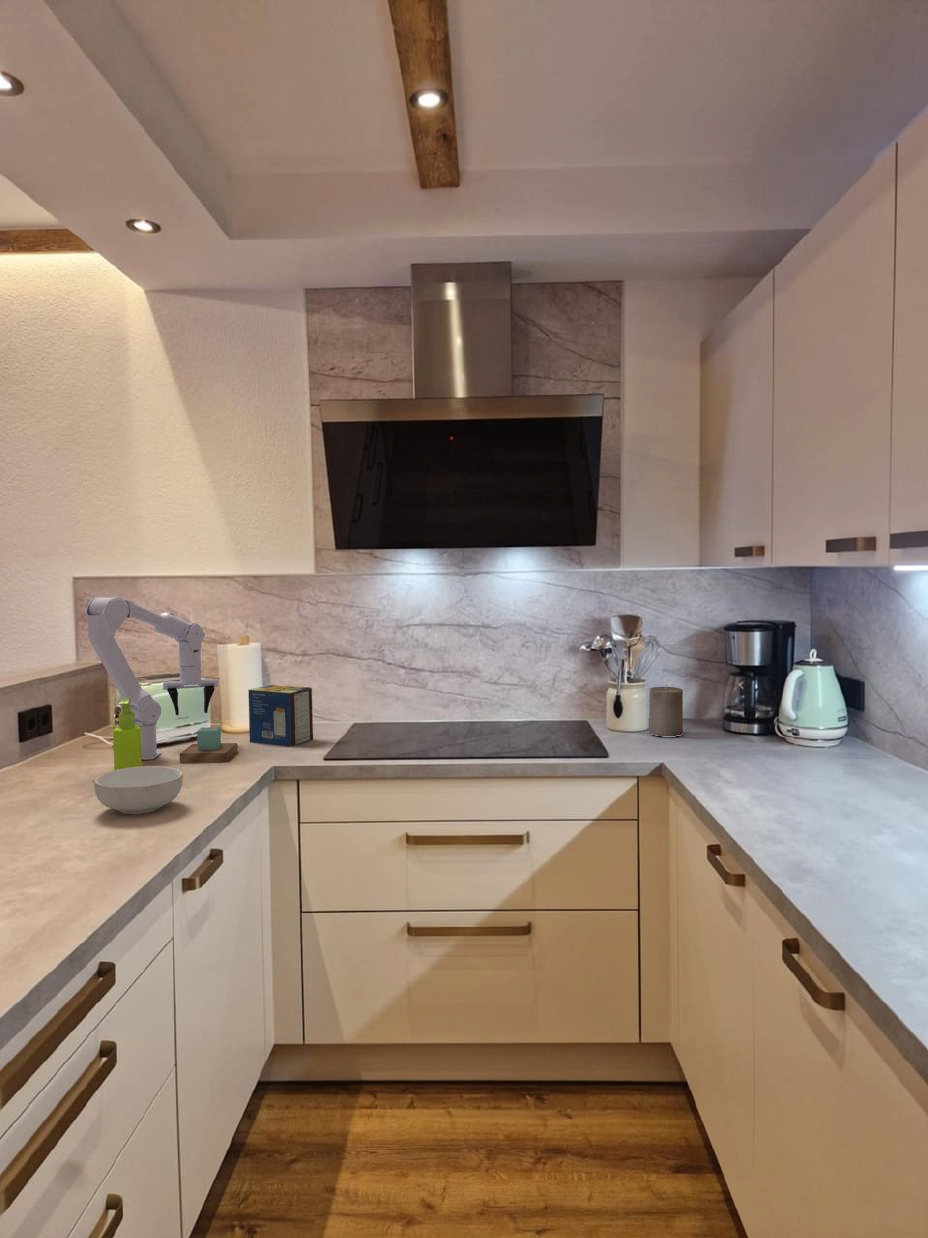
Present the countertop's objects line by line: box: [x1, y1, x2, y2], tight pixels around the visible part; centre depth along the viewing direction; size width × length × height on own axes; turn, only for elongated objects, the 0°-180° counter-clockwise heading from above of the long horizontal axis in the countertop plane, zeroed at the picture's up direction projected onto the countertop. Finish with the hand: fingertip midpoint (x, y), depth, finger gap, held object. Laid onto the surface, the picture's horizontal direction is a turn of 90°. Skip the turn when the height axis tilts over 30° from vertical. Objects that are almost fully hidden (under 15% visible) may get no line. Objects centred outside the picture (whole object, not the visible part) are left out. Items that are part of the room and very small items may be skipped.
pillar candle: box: [648, 684, 684, 736], centre depth 237 cm, size 10×10×15 cm
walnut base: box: [179, 742, 238, 764], centre depth 213 cm, size 12×12×3 cm
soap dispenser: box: [112, 698, 143, 771], centre depth 185 cm, size 6×7×20 cm
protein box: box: [247, 684, 314, 747], centre depth 233 cm, size 10×15×16 cm
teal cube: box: [196, 726, 222, 750], centre depth 213 cm, size 5×5×5 cm
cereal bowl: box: [93, 765, 184, 815], centre depth 166 cm, size 17×17×7 cm
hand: (191, 713), depth 226 cm, fingers open, 7 cm apart
